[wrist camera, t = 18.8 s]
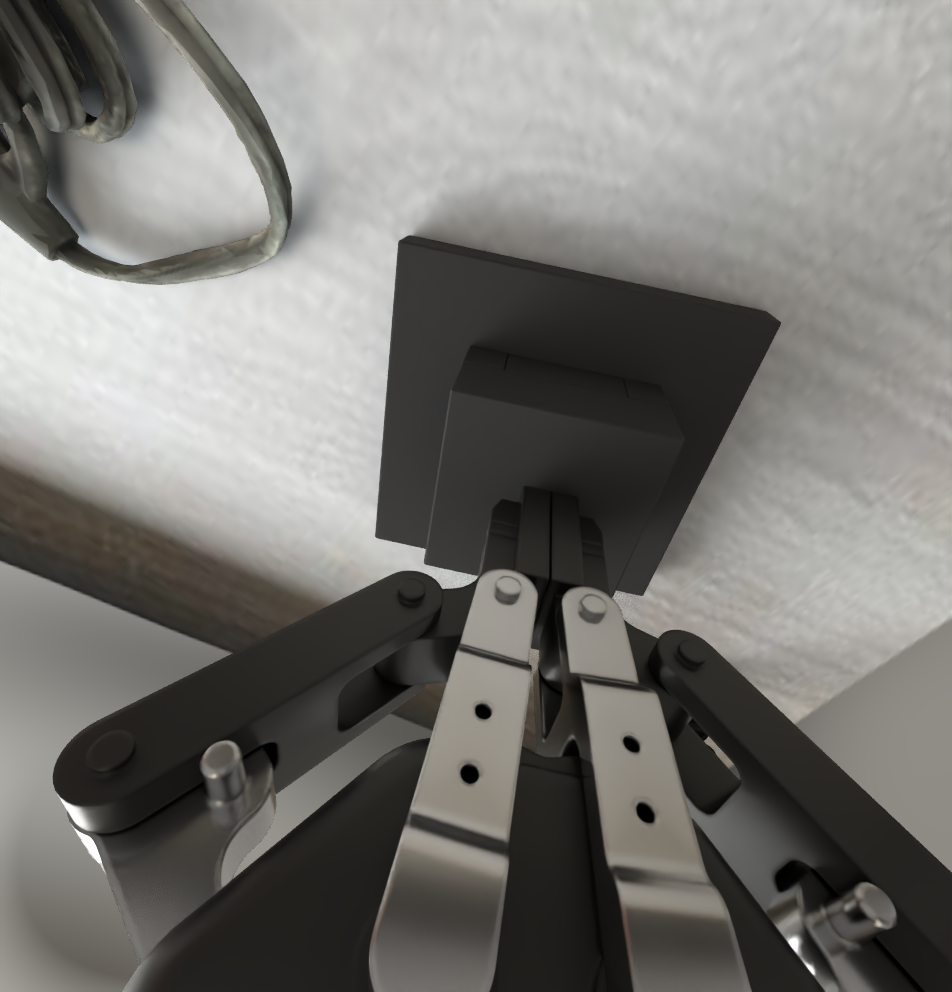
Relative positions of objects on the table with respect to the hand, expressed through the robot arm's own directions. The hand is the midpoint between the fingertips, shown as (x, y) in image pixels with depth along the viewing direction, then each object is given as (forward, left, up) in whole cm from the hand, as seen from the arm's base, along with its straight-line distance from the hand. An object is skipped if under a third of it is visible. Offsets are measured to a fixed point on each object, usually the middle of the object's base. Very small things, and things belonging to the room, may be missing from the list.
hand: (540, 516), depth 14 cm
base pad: (0, 0, -5) cm, 5 cm away
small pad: (0, 0, -4) cm, 4 cm away
